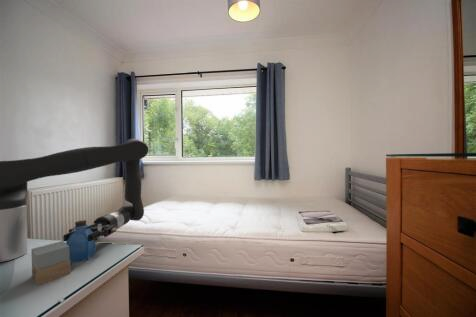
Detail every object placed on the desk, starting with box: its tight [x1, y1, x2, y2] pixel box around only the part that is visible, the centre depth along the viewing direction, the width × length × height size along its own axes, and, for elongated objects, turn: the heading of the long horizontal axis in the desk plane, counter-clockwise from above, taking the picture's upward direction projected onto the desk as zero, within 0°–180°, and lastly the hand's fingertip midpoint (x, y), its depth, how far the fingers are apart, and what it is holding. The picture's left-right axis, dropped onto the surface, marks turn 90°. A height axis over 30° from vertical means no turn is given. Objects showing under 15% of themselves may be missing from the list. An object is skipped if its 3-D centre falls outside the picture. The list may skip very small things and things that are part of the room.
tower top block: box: [30, 240, 70, 271], centre depth 59 cm, size 7×7×4 cm
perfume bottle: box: [65, 219, 97, 263], centre depth 70 cm, size 6×6×12 cm
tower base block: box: [31, 260, 72, 286], centre depth 59 cm, size 7×7×4 cm
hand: (76, 238), depth 68 cm, fingers closed on perfume bottle, 8 cm apart
